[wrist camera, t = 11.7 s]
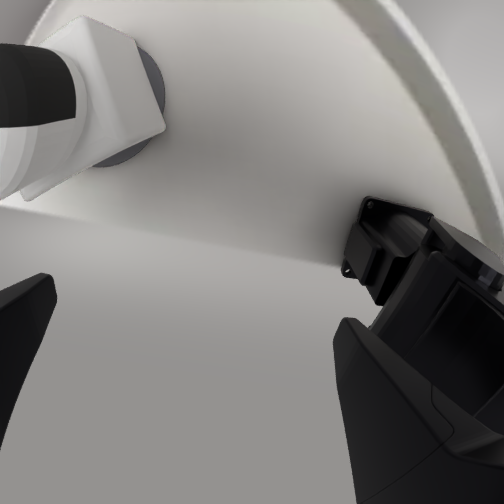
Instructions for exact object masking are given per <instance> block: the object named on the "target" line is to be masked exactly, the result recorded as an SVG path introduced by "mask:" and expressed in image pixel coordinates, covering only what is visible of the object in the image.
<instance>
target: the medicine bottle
mask: <svg viewBox="0 0 504 504" xmlns="http://www.w3.org/2000/svg"><path fill="white" fill-rule="evenodd" d="M165 128H166V124H165V122H164V119H163V117H162V114H161V111H160V109H159V106H158V103H157V101H156V98H155V96H154V93H153V90H152V87H151V85H150V82H149V79H148V77H147V74H146V71H145V68H144V66H143V63H142V60H141V57H140V55H139V52H138V49H137V46H136V43H135V40H134V39H133V38H132V37H130V36H128V35H126V34H124V33H122V32H120V31H118V30H116V29H114V28H112V27H110V26H108V25H105V24H103V23H101V22H99V21H97V20H94V19H92V18H90V17H87V16H79V17H77V18H75V19H74V20H72V21H71V22H69V23H68V24H66V25H65V26H63V27H62V28H61V29H59V30H58V31H56V32H55V33H54V34H52V35H51V36H50V37H48V38H47V39H46V40H44V41H43V42H42V43H40V44H39V45H38V46H37V47H34V46H25V45H15V44H0V200H2V199H4V198H6V197H8V196H10V195H11V194H13V193H15V192H17V191H18V190H20V192H21V195H22V197H23V199H24V200H25V201H31V200H33V199H34V198H36V197H38V196H39V195H41V194H43V193H44V192H46V191H48V190H49V189H51V188H53V187H55V186H56V185H58V184H60V183H62V182H63V181H65V180H67V179H69V178H71V177H73V176H74V175H76V174H78V173H80V172H82V171H84V170H86V169H87V168H89V167H91V166H93V165H95V164H97V163H99V162H101V161H102V160H104V159H106V158H108V157H110V156H112V155H114V154H116V153H118V152H120V151H122V150H124V149H126V148H128V147H131V146H133V145H135V144H137V143H139V142H141V141H143V140H146V139H148V138H150V137H152V136H155V135H157V134H159V133H162V132H163V131H164V130H165Z"/></svg>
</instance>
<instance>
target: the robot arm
mask: <svg viewBox="0 0 504 504" xmlns="http://www.w3.org/2000/svg"><path fill="white" fill-rule="evenodd" d="M371 201H372V204H371V206H367V204H368V202H371ZM429 216H430V218H429V220H427V218H428V217H429ZM344 255H345V259H344V262H343V265H342V268H341V273H342V275H343V276H344V277H346V278H353V279H358V280H359V282H360V284H361V285H362V286H366V288H367V290H368V291H369V293H370V295H371V297H372V299H373V300H374V302H375V304H376V305H378V306H383V308H382V310H381V311H380V313H379V314H378V316H377V317H376V319H375V320H374V322H373V323H372V325H371V326H369V327H368V328H367V327H366V326H365V325H363V324H362V323H361V322H360V321H359V320H357V319H356V318H348V317H345V318H343V319H342V320H341V322H340V324H339V327H338V329H337V331H336V333H335V336H334V339H333V350H334V360H335V372H336V383H337V390H338V395H339V400H340V405H341V410H342V416H343V421H344V427H345V433H346V438H347V444H348V450H349V456H350V462H351V468H352V475H353V481H354V488H355V495H356V502H357V504H504V265H503V263H502V261H501V259H500V258H499V257H498V256H497V255H496V254H495V253H493V252H492V251H491V250H490V249H488V248H487V247H486V246H484V245H483V244H482V243H480V242H479V241H478V240H476V239H474V238H473V237H471V236H469V235H467V234H466V233H464V232H462V231H460V230H458V229H456V228H455V227H453V226H451V225H449V224H447V223H445V222H443V221H441V220H439V219H438V218H436V217H434V215H433V214H432V213H430V212H428V211H425V210H421V209H418V208H414V207H410V206H406V205H403V204H399V203H395V202H391V201H387V200H383V199H379V198H375V197H369V196H368V197H366V198H364V200H363V202H362V205H361V208H360V212H359V215H358V218H357V222H355V223H354V224H353V226H352V229H351V233H350V236H349V239H348V242H347V245H346V248H345V251H344ZM348 269H350V270H349V272H345V271H346V270H348ZM56 303H57V293H56V289H55V284H54V279H53V277H52V276H51V275H50V274H45V273H39V274H37V275H34V276H32V277H30V278H28V279H25V280H23V281H21V282H19V283H16V284H14V285H12V286H10V287H7V288H5V289H3V290H1V291H0V448H1V445H2V442H3V439H4V436H5V432H6V429H7V426H8V423H9V420H10V417H11V414H12V412H13V409H14V406H15V403H16V401H17V398H18V395H19V393H20V390H21V388H22V385H23V383H24V381H25V378H26V376H27V373H28V371H29V369H30V366H31V364H32V362H33V360H34V357H35V355H36V353H37V351H38V349H39V347H40V344H41V342H42V340H43V337H44V335H45V331H46V329H47V326H48V324H49V321H50V318H51V316H52V313H53V311H54V308H55V306H56ZM0 450H1V449H0Z"/></svg>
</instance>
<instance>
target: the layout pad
mask: <svg viewBox="0 0 504 504" xmlns="http://www.w3.org/2000/svg"><path fill="white" fill-rule="evenodd" d="M137 49H138V52H139V55H140V57H141V60H142V63H143V66H144V68H145V71H146V74H147V77H148V79H149V82H150V85H151V87H152V90H153V93H154V96H155V98H156V101H157V103H158V106H159V109H160V111H161V114H163V109H164V102H165V89H164V83H163V79H162V76H161V73H160V70H159V68H158V67H157V65H156V63H155V62H154V60H153V59H152V58H151V57H150V56H149V55H148V54H147V53H146V52H145V51H143V50H142V49H141V48H139V47H137ZM151 138H152V137H150V138H148V139H146V140H143V141H141V142H139V143H137V144H135V145H133V146H131V147H128V148H126V149H124V150H122V151H120V152H118V153H116V154H114V155H112V156H110V157H108V158H106V159H104V160H102V161H101V162H99V163H97V164H95V165H93V167H108V166H113V165H116V164H119V163H122V162H124V161H126V160H128V159H129V158H131V157H133V156H134V155H136V154H137V153H138V152H139V151H141V150H142V149H143V148H144V147H145V146H146V145H147V143H148V142H149V141H150V139H151Z"/></svg>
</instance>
